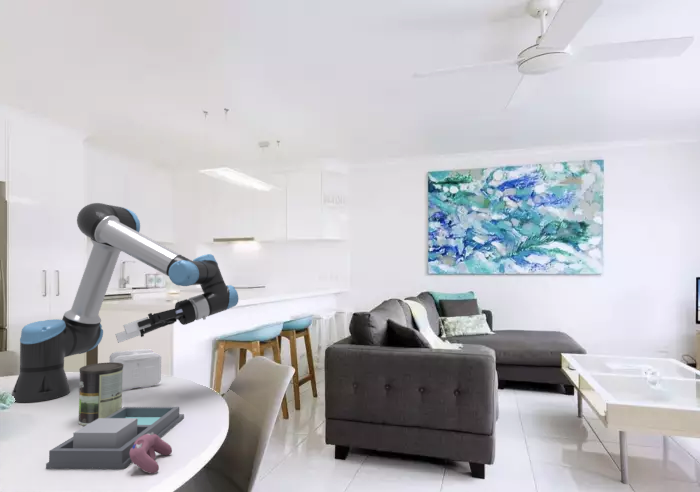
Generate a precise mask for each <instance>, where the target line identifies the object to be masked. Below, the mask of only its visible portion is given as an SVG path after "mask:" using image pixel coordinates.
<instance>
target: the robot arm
mask: <svg viewBox="0 0 700 492" xmlns="http://www.w3.org/2000/svg"><path fill="white" fill-rule="evenodd" d="M76 224H77V227H78V229H79V231H80V232H81V233H82V234H84V235H85V236H86V237H88V238H90V241H91V243H92V244H93V246H92V249H91V251H90V254H89V257H88V260H87V263H86V266H85V269H84V270H83V271H84V272H83V274H82V277H81V280H80V283H79V285H78V289H77V291H76V294H75V297H74V299H73V300H74V301H73V303H72V306H71V309H69V310H67V311H65V312H64V313H63V317H62V319H45V320H39V321H34V322H30V323H28V324H26V325H24V326H23V327H22V329H21V333H20V338H19V342H20V343H19V344H20V346H19V350H20V351H19V373H18V377H17V380H16V383H15V384H14V387H13V390H12V392H11V397H12V396H14V398H15V400H16V402H15V403H35V402H43V401H44V402H45V401H50V400H54V399H58V398H61V397H64V396H67V395H68V394H69V393H70V390H71V389H70V388H71V386H70V383H69V381H68V377H67V374H66V371H65V358H68V357H71V356H75V355H80V354H84V353H88V352H89V351H91V350H94V349H95V348H96V347H98V346H99V344H100V343H101V342H102V340H103V335H104V330H103V329H102V328H103V325H102V324H101V322H102V318H101V317H100V315H99V313H100V311H101V307H102V305H103V302H104V299H105V296H106V294H107V290H108V287H109V285H110V282H111V279H112V276H113V274H114V271H115V268H116V265H117V262H118V260H119V256H120V253H121V252H122V253H124V254H127V256H131V257H132V258H134V259H136V260H138V261H139V262H141V263H143V264H145V265H146V266H148V267H151V268H153V269H154V270H156V271H158V272H160V273H162V274H164V275H165V276H167V277H168V278H169V279H170V281H171V283H172V284H175V286H181V287H189V286H198V285H200V288H201V290H202V292H203V293H202V294H201V293H200V294H197V295H195V296H194V295H193V296H191V297H189V298H188V299H187V298H186V299H183V300H180V301H177V302H176V303H175V304H174V308H171V309H169V310H168V309H167V310H163V311H159V312H156V313H152V312H150V313H148V314H147V316H146V317H143V318H140V319H137V320H135V321H131V322H128V323H125V324H123V325H122V327H123V328H124V330H123V331H121V332H117V333H115V338H116V341H117V343H122V342H124V341H128V340H131V339H134V338H137V337H140V338H144V337H145V335H146V334H149V333H150V332H153V331H155V330H158V329H160V328H163V327H164V328H165V327H166V326H168V325H173V324H175V323H176V322H177V321H178V322H179V323H180V324H181V325H182V326H183V325H184V326H186V325H189V324H191V323H193V322H195V321H199V320H203V321H205V320H206V318H207V317H210V316H213V315H215V314H218V313H221V312H224V311H227V310H229V309H232V308H233V307H236V306H237V305H238V303H239V294H238V291H237V289H236V288H235V286H233V285H232V284H229V285H226V282H225V280H224V277H223V275H222V272H221V269H220V267H219V263H218V261H217V259H216V258H215V256H214V255H213V254H211V253H207V254H204V255H203V254H202V255H200V256H197V257H196V258H194V259H193V260H192V259H189V258H187V257H185V256H184V255H182V254H180V253H178V252H176V251H174V250H172V249H171V248H169V247H167V246H166V245H163V244H161V243H160V242H158V241H156V240H155V239H152V238H150V237H148V236H146V235H145V234H142V233H140V231H141V223H140V219H139V217H138V215H137V214H136V213H135V212H134V211H132V210H131V209H128V208H125V207H123V206H117V205H113V204H112V205H111V204H107V203H103V202H102V203H100V202H93V203H90V204H87V205H85V206H84V207H82V208H81V210H80V211H79V212H78V214H77V216H76Z"/></svg>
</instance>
